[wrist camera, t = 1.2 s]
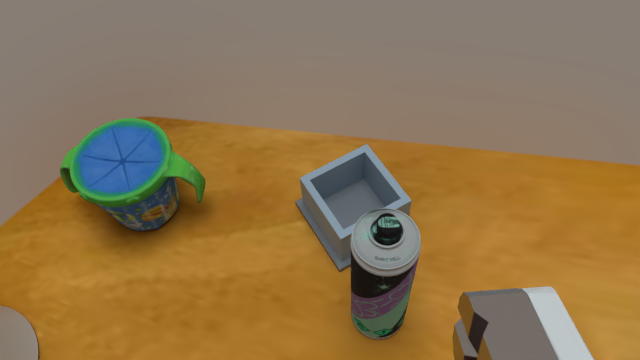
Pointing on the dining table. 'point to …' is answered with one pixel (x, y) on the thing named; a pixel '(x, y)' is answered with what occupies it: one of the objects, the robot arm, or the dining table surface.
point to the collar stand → (347, 199)
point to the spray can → (382, 270)
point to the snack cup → (130, 173)
